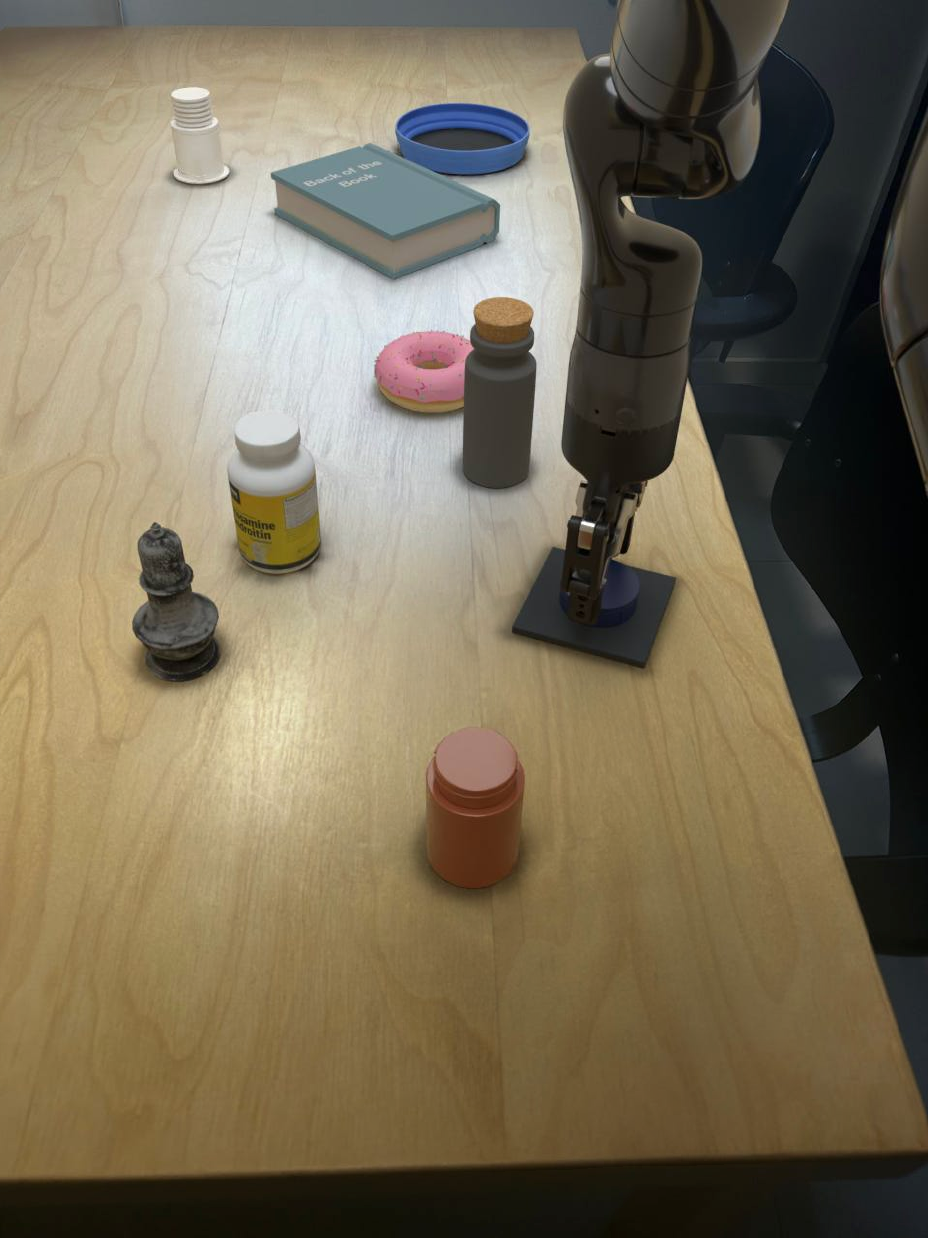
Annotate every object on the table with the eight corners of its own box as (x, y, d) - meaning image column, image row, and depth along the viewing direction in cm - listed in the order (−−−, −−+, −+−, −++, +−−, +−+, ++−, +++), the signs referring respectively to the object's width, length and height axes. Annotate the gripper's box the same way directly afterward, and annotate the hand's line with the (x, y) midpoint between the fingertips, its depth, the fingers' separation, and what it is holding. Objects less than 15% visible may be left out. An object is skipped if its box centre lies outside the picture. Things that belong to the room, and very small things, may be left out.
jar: (530, 827, 68) (539, 736, 63) (501, 901, 65) (508, 810, 59) (445, 801, 70) (447, 709, 64) (412, 872, 66) (410, 781, 60)
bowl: (375, 166, 146) (374, 138, 144) (422, 121, 159) (422, 95, 156) (506, 185, 142) (507, 157, 140) (543, 138, 155) (545, 111, 152)
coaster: (675, 583, 86) (676, 577, 85) (644, 668, 79) (645, 662, 78) (552, 552, 88) (552, 546, 88) (511, 632, 81) (511, 626, 81)
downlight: (228, 186, 140) (218, 103, 133) (172, 188, 139) (159, 105, 133) (230, 162, 146) (220, 81, 139) (175, 164, 145) (163, 83, 138)
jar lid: (652, 613, 82) (656, 594, 81) (587, 638, 80) (590, 619, 79) (608, 567, 86) (610, 548, 85) (544, 590, 84) (546, 571, 83)
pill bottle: (228, 539, 89) (208, 414, 81) (304, 517, 91) (292, 394, 83) (256, 587, 84) (237, 461, 76) (334, 563, 87) (325, 438, 79)
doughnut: (511, 402, 104) (513, 362, 101) (407, 432, 100) (406, 392, 97) (454, 350, 111) (454, 312, 108) (355, 376, 107) (353, 337, 104)
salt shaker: (163, 697, 76) (130, 563, 68) (127, 648, 79) (92, 515, 71) (239, 662, 78) (217, 529, 70) (202, 616, 82) (176, 484, 74)
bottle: (498, 442, 99) (506, 285, 89) (543, 472, 96) (556, 313, 86) (448, 465, 96) (450, 307, 86) (492, 497, 93) (500, 336, 83)
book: (274, 213, 134) (270, 172, 131) (377, 180, 142) (376, 140, 139) (393, 279, 122) (392, 235, 119) (498, 238, 130) (500, 196, 127)
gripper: (598, 331, 77) (577, 517, 88) (534, 438, 67) (520, 632, 78) (705, 353, 75) (670, 540, 86) (655, 466, 65) (623, 660, 76)
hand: (598, 583), depth 82 cm, fingers open, 8 cm apart
